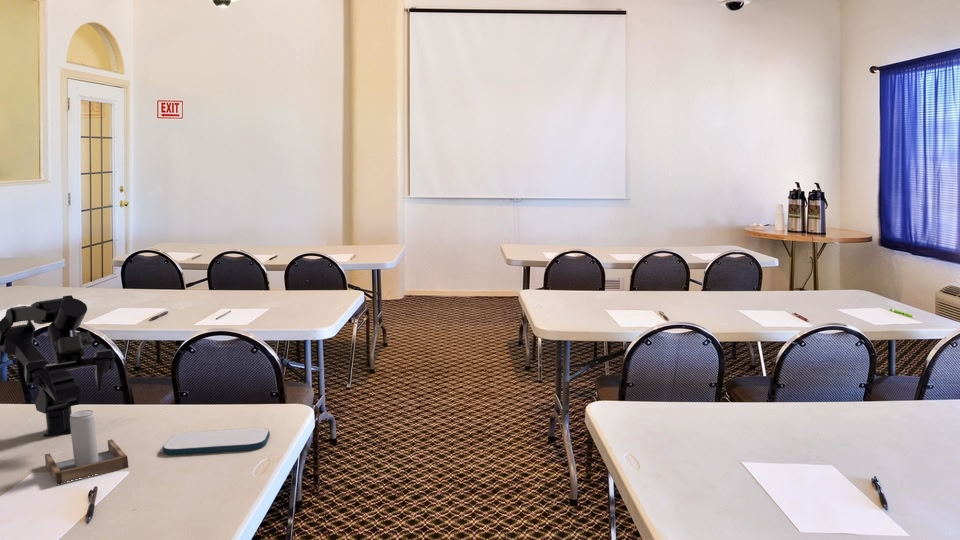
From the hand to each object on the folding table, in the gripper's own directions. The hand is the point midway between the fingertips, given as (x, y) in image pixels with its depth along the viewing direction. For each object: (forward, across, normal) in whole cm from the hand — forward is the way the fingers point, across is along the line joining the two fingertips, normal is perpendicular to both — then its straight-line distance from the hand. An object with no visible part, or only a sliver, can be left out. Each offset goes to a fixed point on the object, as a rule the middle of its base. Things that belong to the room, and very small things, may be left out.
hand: (78, 395), depth 171 cm
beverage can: (+17, -1, +2) cm, 17 cm away
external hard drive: (+22, +26, -2) cm, 34 cm away
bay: (+17, -1, +2) cm, 17 cm away
